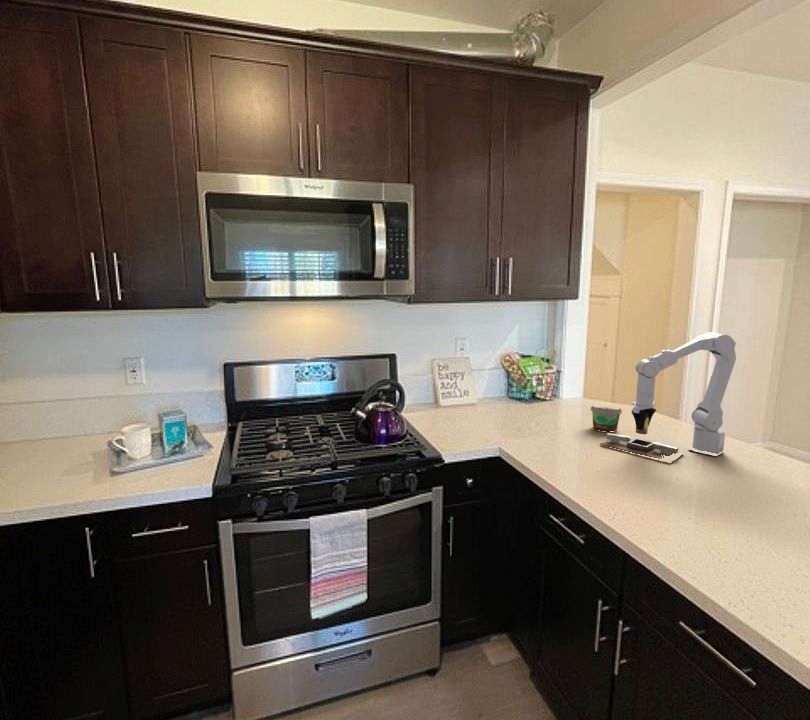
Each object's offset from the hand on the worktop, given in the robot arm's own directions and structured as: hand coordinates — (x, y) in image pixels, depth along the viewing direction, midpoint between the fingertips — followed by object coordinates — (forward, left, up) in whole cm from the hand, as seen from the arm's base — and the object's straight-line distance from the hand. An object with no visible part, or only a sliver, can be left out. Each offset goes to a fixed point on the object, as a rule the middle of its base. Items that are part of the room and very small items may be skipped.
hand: (642, 428), depth 175 cm
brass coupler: (0, 0, -2) cm, 2 cm away
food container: (+20, -12, -9) cm, 25 cm away
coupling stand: (0, 0, -9) cm, 9 cm away
